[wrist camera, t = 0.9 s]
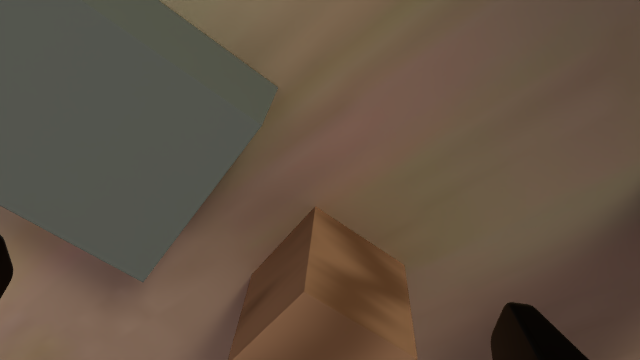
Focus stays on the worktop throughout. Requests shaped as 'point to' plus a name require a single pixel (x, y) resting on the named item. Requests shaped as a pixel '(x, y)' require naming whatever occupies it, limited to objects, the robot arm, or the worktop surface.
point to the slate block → (118, 122)
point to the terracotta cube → (326, 300)
